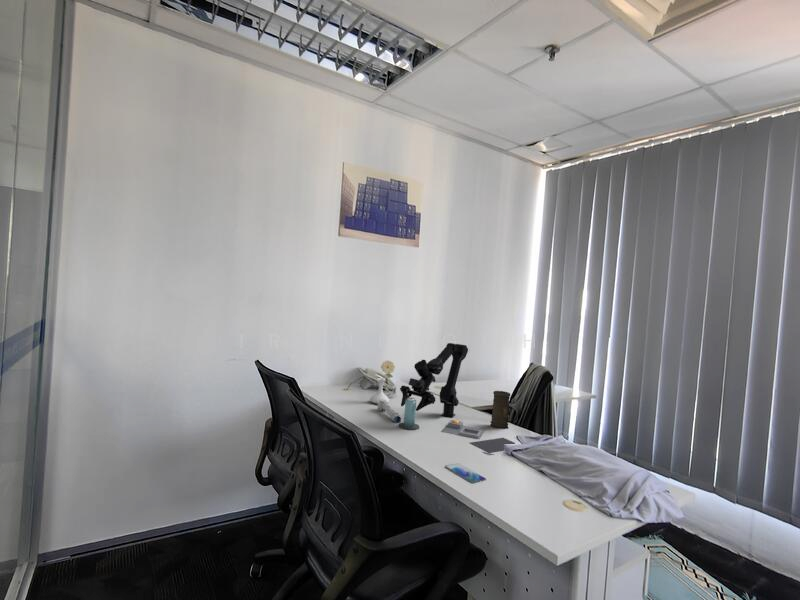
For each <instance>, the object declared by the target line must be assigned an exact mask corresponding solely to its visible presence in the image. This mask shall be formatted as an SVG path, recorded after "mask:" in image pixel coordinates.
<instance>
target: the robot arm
mask: <svg viewBox="0 0 800 600" xmlns="http://www.w3.org/2000/svg"><path fill="white" fill-rule="evenodd" d="M468 352H469V348H468V346H467V345H466V344H460V343H452V342H448V343H447V344H446V346H445V347H444V349H442V350H441V352H440V353H439V354H438V355H437V356H436V357H435V358H433V359H431V360H429V361H428V362H427V360H426V359H421V360H419V361H417V362H415V363H414V369H415V371H416V373H417V375H418V376H419V377H420V378H419V379H416V378H412V377H411V378H409V382H408V384H407V385H408V386H407V385H401V387H400V388H399V391H400V392H401V393H402V399H401V402H400V406H401V407H405V402H406V399H407V398H412V396H416V397H421V399H420V401H419V403H418V405H416V412H418V411H420V410H421V409H423V408H425V407H428V406H429V405H431V404H432V405H435V402H436V397H435V395H434V393H433V392H431V391H430V386H431V384H432V382H433V383H435V382H436V377H435V376H434V375H436V376H437V375H440V374H441V372H442V371H443V369H444V365H445V363H446V362H447V361H448V360H449V358H450V357H451V356H452V361H451V365H450V369H449V372H448V376H447V381H446V383H445V385H444V386H441V388H440V392H439V403H440V404H443V410H442V413H441V414H440V416H443V417H447V416H448V418H454V417H455V416H456V413H454V412H455V407H457V406H459V399H458V397H457V393H458V392H457V389H456V386H457V385H456V383H457V380H458V377H459V374H460V369H461V365H462V362H463V361H464V360H465V359H466V358H467V355H468ZM410 387H411V388H410ZM411 389H412V390H411Z"/></svg>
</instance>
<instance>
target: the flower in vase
mask: <svg viewBox="0 0 800 600" xmlns="http://www.w3.org/2000/svg"><path fill="white" fill-rule="evenodd" d="M380 369H381V371H382V372H383V373H384V375H382V374H380V373H378V376H380V378H379V377H378V378H376V380H377V383H378V389H377V390H378V391H377V392H376V393H375V394H373V395H371V396H370V398H369V401H370V402H372V403H374V404H377V405H378V404H379V402H380V399H385V400H386V403H387V404H388V403H390V398H389V396H387V395H386V394H385V393H384V392H383V388H384V383H385V381H386V378H389V379H390V378H393V375H392V374H391V373H394V370H395V369H396V366H395V364H394V362H393V361H391V360H389V359H388V360H385V361H383V362H382V363H381V365H380ZM385 377H386V378H385Z"/></svg>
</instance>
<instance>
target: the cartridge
mask: <svg viewBox="0 0 800 600" xmlns="http://www.w3.org/2000/svg"><path fill="white" fill-rule="evenodd" d="M416 408H417V400H416V398H414V397H410V398H407V399H406V402H405V405H404V413H403V414H404V417H403V422H404V426H406V427H414V424H416V412H417V411H416Z"/></svg>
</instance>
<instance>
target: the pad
mask: <svg viewBox="0 0 800 600" xmlns="http://www.w3.org/2000/svg"><path fill="white" fill-rule="evenodd" d="M398 428H400V429H402V428H403V429H402V430H405V429H407V431H416V429H417V430H419V429H420V425H419V424H417V423H415V424H414V427H406V426H404V421H403V422H400V423H398Z"/></svg>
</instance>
